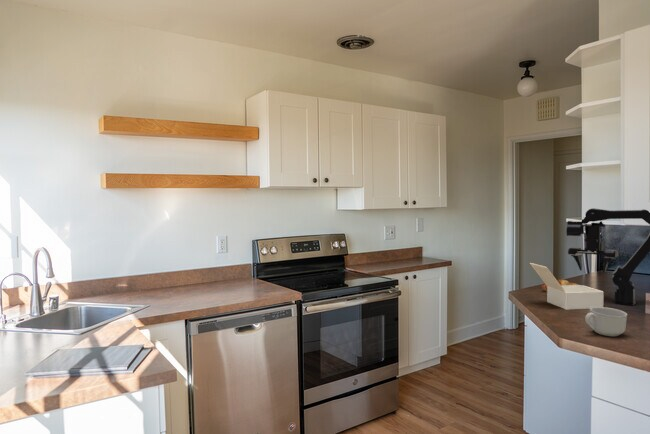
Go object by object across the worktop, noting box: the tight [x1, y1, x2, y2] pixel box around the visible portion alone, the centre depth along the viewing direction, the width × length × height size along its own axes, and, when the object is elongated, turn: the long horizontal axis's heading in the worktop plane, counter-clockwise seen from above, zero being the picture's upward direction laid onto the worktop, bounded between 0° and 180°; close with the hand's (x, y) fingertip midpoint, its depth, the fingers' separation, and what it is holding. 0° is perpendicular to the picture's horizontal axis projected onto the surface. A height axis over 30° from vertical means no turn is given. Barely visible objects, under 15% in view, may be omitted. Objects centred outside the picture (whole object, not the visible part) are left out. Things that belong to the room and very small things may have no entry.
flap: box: [529, 262, 565, 292], centre depth 192 cm, size 13×13×1 cm
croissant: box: [540, 279, 579, 292], centre depth 217 cm, size 21×10×8 cm, turn 58°
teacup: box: [584, 306, 628, 337], centre depth 152 cm, size 14×11×8 cm
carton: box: [546, 284, 604, 311], centre depth 193 cm, size 16×15×7 cm
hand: (592, 271), depth 201 cm, fingers open, 9 cm apart
